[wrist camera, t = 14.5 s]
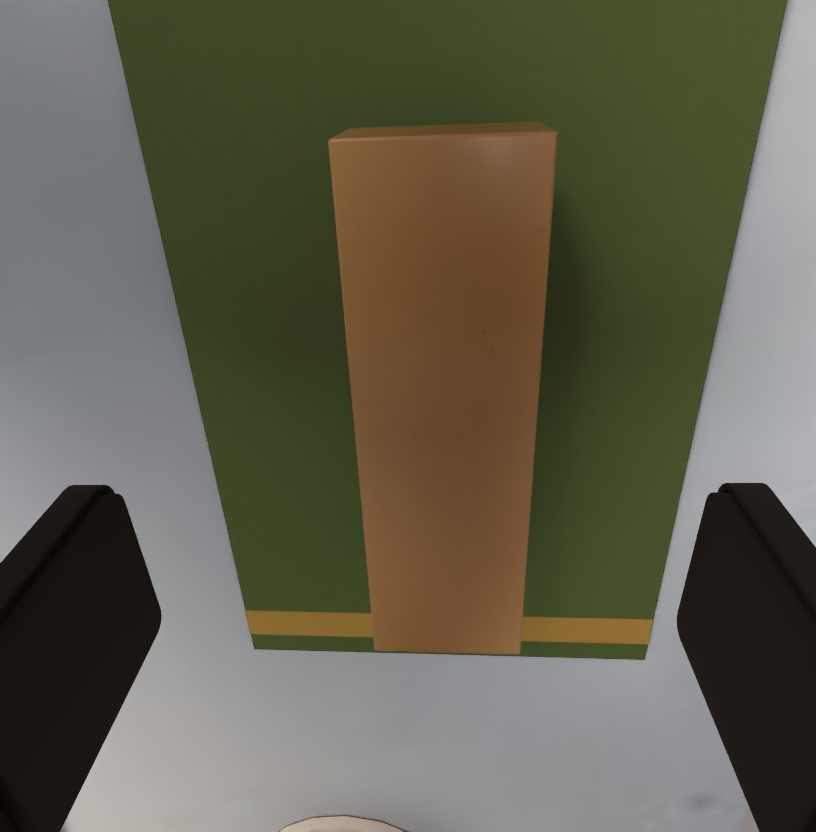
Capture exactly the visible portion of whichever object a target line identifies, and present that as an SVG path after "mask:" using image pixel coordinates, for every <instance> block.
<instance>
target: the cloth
mask: <svg viewBox="0 0 816 832" xmlns="http://www.w3.org/2000/svg"><path fill="white" fill-rule="evenodd" d="M108 3H109V7H110V12H111V16H112V21H113V25H114V30H115V34H116V38H117V43H118V47H119V52H120V56H121V61H122V65H123V69H124V74H125V78H126V83H127V87H128V92H129V96H130V100H131V105H132V109H133V114H134V118H135V123H136V127H137V131H138V136H139V140H140V145H141V149H142V154H143V158H144V162H145V167H146V171H147V176H148V180H149V185H150V189H151V193H152V198H153V202H154V207H155V211H156V216H157V220H158V224H159V229H160V233H161V238H162V242H163V247H164V251H165V255H166V260H167V264H168V269H169V273H170V278H171V282H172V286H173V291H174V295H175V300H176V304H177V309H178V313H179V317H180V322H181V326H182V331H183V335H184V340H185V344H186V348H187V353H188V357H189V362H190V366H191V371H192V375H193V379H194V384H195V388H196V393H197V397H198V401H199V406H200V410H201V415H202V419H203V424H204V428H205V432H206V437H207V441H208V446H209V450H210V455H211V459H212V463H213V468H214V472H215V477H216V481H217V486H218V490H219V494H220V499H221V503H222V508H223V512H224V517H225V521H226V525H227V530H228V534H229V539H230V543H231V548H232V552H233V556H234V561H235V565H236V570H237V574H238V579H239V583H240V587H241V592H242V596H243V601H244V605H245V610H246V615H247V620H248V624H249V628H250V633H251V636H252V641H253V645H254V649H270V650H307V651H344V652H380V653H417V654H454V655H490V656H527V657H564V658H601V659H637V660H645V656H646V652H647V647H648V643H649V639H650V634H651V630H652V625H653V620H654V615H655V610H656V605H657V601H658V596H659V591H660V587H661V582H662V578H663V573H664V568H665V564H666V559H667V554H668V550H669V545H670V541H671V536H672V531H673V527H674V522H675V517H676V513H677V508H678V504H679V499H680V494H681V490H682V485H683V480H684V476H685V471H686V467H687V462H688V457H689V453H690V448H691V443H692V439H693V434H694V430H695V425H696V420H697V416H698V411H699V406H700V402H701V397H702V392H703V388H704V383H705V379H706V374H707V369H708V365H709V360H710V355H711V351H712V346H713V342H714V337H715V332H716V328H717V323H718V318H719V314H720V309H721V305H722V300H723V295H724V291H725V286H726V281H727V277H728V272H729V268H730V263H731V258H732V254H733V249H734V244H735V240H736V235H737V231H738V226H739V221H740V217H741V212H742V207H743V203H744V198H745V194H746V189H747V184H748V180H749V175H750V170H751V166H752V161H753V157H754V152H755V147H756V143H757V138H758V133H759V129H760V124H761V120H762V115H763V110H764V106H765V101H766V96H767V92H768V87H769V82H770V78H771V73H772V69H773V64H774V59H775V55H776V50H777V45H778V41H779V36H780V32H781V27H782V22H783V18H784V13H785V8H786V4H787V0H108ZM531 121H539V122H541V123H543V124H545V125H547V126H548V127H550V128H552V129H553V130H555V131H557V133H558V143H557V157H556V170H555V184H554V197H553V211H552V225H551V238H550V252H549V266H548V279H547V293H546V307H545V320H544V334H543V348H542V361H541V375H540V388H539V402H538V416H537V429H536V443H535V457H534V470H533V484H532V498H531V511H530V525H529V538H528V552H527V566H526V579H525V593H524V607H523V620H522V634H521V648H520V653H519V654H487V653H450V652H413V651H377V650H375V648H374V640H373V629H372V618H371V607H370V596H369V585H368V574H367V563H366V552H365V541H364V530H363V519H362V508H361V497H360V486H359V475H358V464H357V453H356V442H355V431H354V420H353V409H352V398H351V387H350V376H349V365H348V354H347V343H346V332H345V321H344V310H343V299H342V288H341V277H340V266H339V255H338V244H337V233H336V222H335V211H334V200H333V189H332V178H331V167H330V156H329V145H328V142H329V139H331V138H333V137H335V136H336V135H338V134H340V133H342V132H344V131H346V130H347V129H349V128H364V127H391V126H419V125H447V124H475V123H503V122H531Z"/></svg>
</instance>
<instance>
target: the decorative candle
mask: <svg viewBox="0 0 816 832" xmlns="http://www.w3.org/2000/svg"><path fill="white" fill-rule="evenodd" d="M280 832H404V831H402V830H399V829H397V828H395V827H392V826H390V825H388V824H385V823H383V822H378V821H372V820H367V819H361V818H355V817H349V816H338V817H319V818H310V819H307V820H304V821H301V822H298V823H295V824H292V825H289V826H287V827H284V828H283V829H282V830H281V831H280Z"/></svg>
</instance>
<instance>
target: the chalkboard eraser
mask: <svg viewBox="0 0 816 832" xmlns="http://www.w3.org/2000/svg"><path fill="white" fill-rule="evenodd" d="M557 143H558V133H557V131H555V130H553V129H552V128H550V127H548V126H547V125H545V124H543V123H541V122H539V121H531V122H503V123H475V124H447V125H419V126H391V127H364V128H349V129H347V130H346V131H344V132H342V133H340V134H338V135H336V136H335V137H333V138H331V139H329V142H328V145H329V156H330V167H331V178H332V189H333V200H334V211H335V222H336V233H337V244H338V255H339V266H340V277H341V288H342V299H343V310H344V321H345V332H346V343H347V354H348V365H349V376H350V387H351V398H352V409H353V420H354V431H355V442H356V453H357V464H358V475H359V486H360V497H361V508H362V519H363V530H364V541H365V552H366V563H367V574H368V585H369V596H370V607H371V618H372V629H373V640H374V648H375V650H377V651H413V652H450V653H487V654H519V653H520V648H521V634H522V620H523V607H524V593H525V579H526V566H527V552H528V538H529V525H530V511H531V498H532V484H533V470H534V457H535V443H536V429H537V416H538V402H539V388H540V375H541V361H542V348H543V334H544V320H545V307H546V293H547V279H548V266H549V252H550V238H551V225H552V211H553V197H554V184H555V170H556V157H557Z"/></svg>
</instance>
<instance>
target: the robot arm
mask: <svg viewBox="0 0 816 832" xmlns="http://www.w3.org/2000/svg"><path fill="white" fill-rule="evenodd" d="M160 624H161V609H160V606H159V603H158V600H157V597H156V594H155V591H154V588H153V585H152V582H151V579H150V576H149V573H148V570H147V567H146V564H145V561H144V558H143V555H142V552H141V549H140V546H139V543H138V540H137V537H136V534H135V531H134V528H133V525H132V522H131V519H130V516H129V513H128V510H127V507H126V504H125V501H124V499H123V497H122V496H121V495H120V494H115V493H114V491H113V489H112V488H111V487H110V486H107V485H72V486H69V487H67V488H66V489H65V490H64V491H63V492H62V493H61V494H60V495H59V497H58V498H57V499H56V500H55V501H54V502H53V503H52V505H51V506H50V507H49V508H48V509H47V510H46V512H45V513H44V514H43V515H42V516H41V517H40V518H39V520H38V521H37V522H36V523H35V524H34V525H33V526H32V528H31V529H30V530H29V531H28V532H27V533H26V534H25V536H24V537H23V538H22V539H21V540H20V541H19V542H18V544H17V545H16V546H15V547H14V548H13V549H12V550H11V552H10V553H9V554H8V555H7V556H6V557H5V559H4V560H3V561H2V562H1V563H0V832H60V830H61V828H62V826H63V824H64V822H65V820H66V818H67V816H68V814H69V812H70V810H71V808H72V806H73V804H74V802H75V800H76V798H77V796H78V794H79V792H80V790H81V788H82V786H83V784H84V782H85V780H86V778H87V776H88V774H89V772H90V769H91V767H92V765H93V763H94V761H95V759H96V757H97V755H98V753H99V751H100V749H101V747H102V745H103V743H104V741H105V739H106V737H107V735H108V733H109V731H110V729H111V727H112V725H113V723H114V721H115V719H116V717H117V715H118V713H119V711H120V709H121V707H122V705H123V703H124V701H125V698H126V696H127V694H128V692H129V690H130V688H131V686H132V684H133V682H134V680H135V678H136V676H137V674H138V672H139V670H140V668H141V666H142V664H143V662H144V660H145V658H146V656H147V654H148V652H149V650H150V648H151V646H152V644H153V642H154V640H155V638H156V636H157V634H158V631H159V628H160ZM677 628H678V633H679V637H680V640H681V642H682V644H683V647H684V649H685V652H686V654H687V657H688V659H689V661H690V664H691V666H692V669H693V671H694V674H695V676H696V679H697V681H698V683H699V686H700V688H701V691H702V693H703V696H704V698H705V700H706V703H707V705H708V708H709V710H710V713H711V715H712V717H713V720H714V722H715V725H716V727H717V730H718V732H719V734H720V737H721V739H722V742H723V744H724V747H725V749H726V751H727V754H728V756H729V759H730V761H731V764H732V766H733V768H734V771H735V773H736V776H737V778H738V781H739V783H740V785H741V788H742V790H743V793H744V795H745V798H746V800H747V802H748V805H749V807H750V810H751V812H752V815H753V817H754V819H755V822H756V824H757V827H758V829H759V831H760V832H816V547H815V546H814V545H813V543H812V542H811V541H810V540H809V538H808V537H807V536H806V534H805V533H804V532H803V530H802V529H801V528H800V526H799V525H798V524H797V523H796V521H795V520H794V519H793V517H792V516H791V515H790V513H789V512H788V511H787V509H786V508H785V507H784V506H783V504H782V503H781V502H780V500H779V499H778V498H777V496H776V495H775V494H774V492H773V491H772V490H771V489H770V488H769V487H768V486H767V485H766V484H763V483H725V484H722V486H721V487H720V488H719V490H718V493H710V494H709V495H708V497H707V499H706V503H705V507H704V511H703V515H702V519H701V523H700V526H699V530H698V534H697V538H696V542H695V546H694V550H693V554H692V558H691V562H690V566H689V570H688V574H687V578H686V582H685V586H684V590H683V594H682V598H681V601H680V605H679V609H678V614H677Z"/></svg>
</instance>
